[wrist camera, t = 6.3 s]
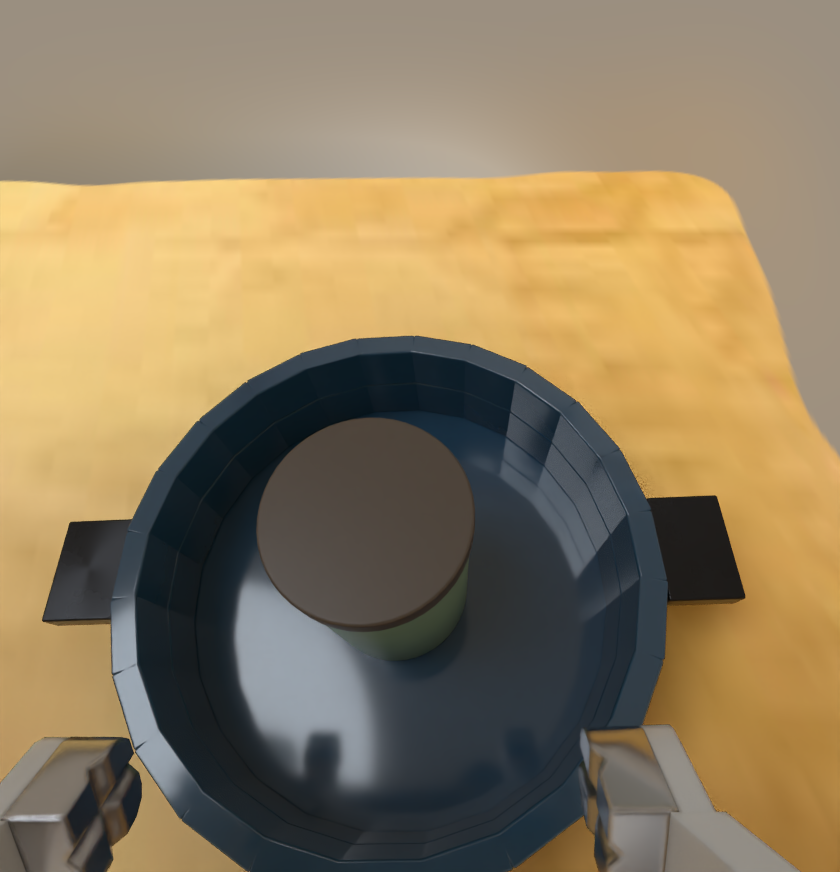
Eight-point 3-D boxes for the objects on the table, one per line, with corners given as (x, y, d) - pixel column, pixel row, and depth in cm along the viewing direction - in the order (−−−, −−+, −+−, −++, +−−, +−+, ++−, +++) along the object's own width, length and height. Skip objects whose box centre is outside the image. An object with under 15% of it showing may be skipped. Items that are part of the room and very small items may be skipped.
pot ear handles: (57, 625, 18) (40, 621, 17) (83, 528, 19) (69, 521, 18) (734, 603, 17) (747, 598, 16) (707, 503, 18) (717, 494, 17)
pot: (133, 864, 17) (37, 905, 13) (214, 408, 25) (168, 347, 21) (673, 858, 17) (741, 899, 13) (585, 389, 24) (610, 323, 20)
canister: (320, 666, 20) (241, 631, 12) (328, 519, 22) (267, 421, 15) (474, 661, 19) (483, 623, 12) (465, 514, 22) (468, 411, 15)
